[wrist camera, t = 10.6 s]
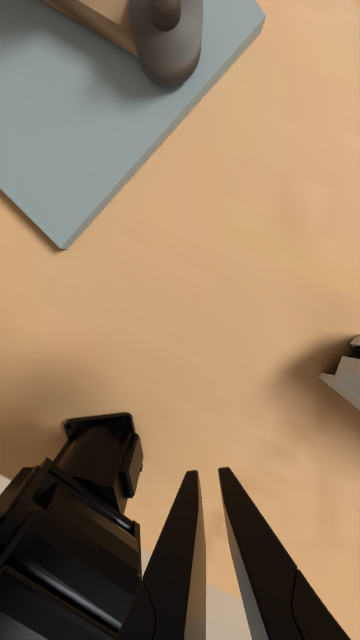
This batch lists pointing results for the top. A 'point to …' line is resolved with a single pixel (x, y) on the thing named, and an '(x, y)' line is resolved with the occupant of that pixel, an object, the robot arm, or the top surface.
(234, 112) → the top surface
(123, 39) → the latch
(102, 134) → the board
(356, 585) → the top surface
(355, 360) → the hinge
